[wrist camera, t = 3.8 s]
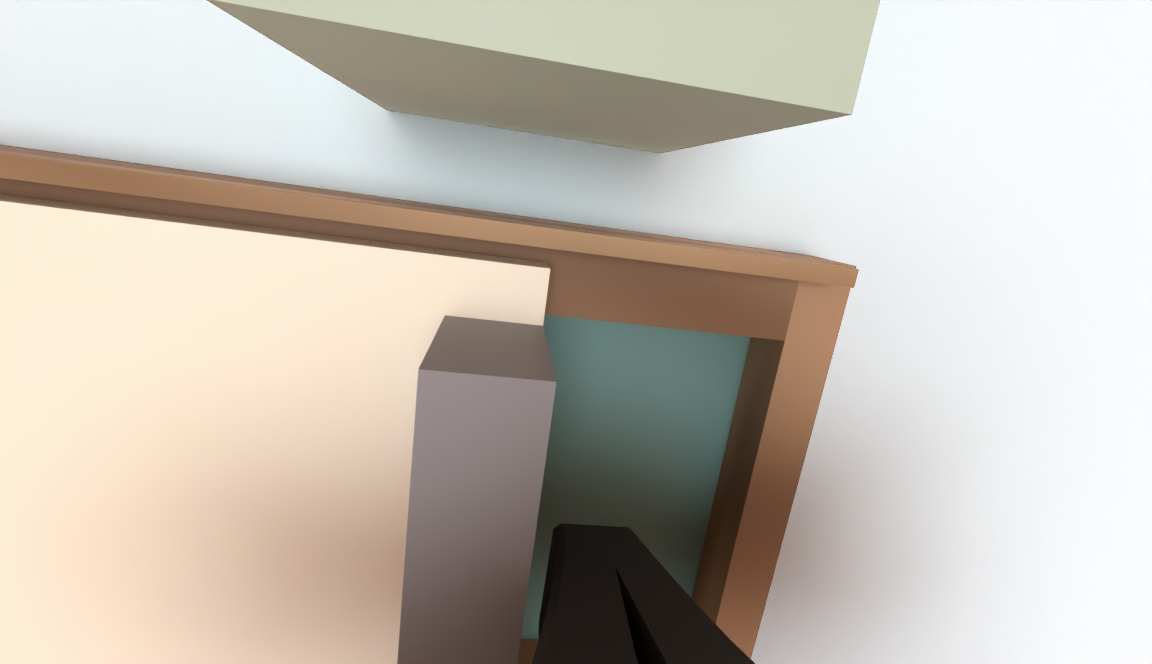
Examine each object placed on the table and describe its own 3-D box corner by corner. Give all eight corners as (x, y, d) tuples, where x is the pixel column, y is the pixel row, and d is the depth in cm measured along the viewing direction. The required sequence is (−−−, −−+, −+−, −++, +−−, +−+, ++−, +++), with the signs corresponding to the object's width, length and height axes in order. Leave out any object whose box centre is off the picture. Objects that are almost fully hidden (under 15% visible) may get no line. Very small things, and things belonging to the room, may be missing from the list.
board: (705, 684, 14) (742, 779, 12) (-718, 675, 10) (-1077, 818, 8) (811, 255, 11) (886, 272, 9) (-1098, -6, 7) (-1834, -92, 5)
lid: (488, 727, 11) (480, 931, 8) (-272, 732, 9) (-657, 1003, 6) (547, 262, 9) (567, 303, 6) (-462, 136, 7) (-1233, 98, 4)
